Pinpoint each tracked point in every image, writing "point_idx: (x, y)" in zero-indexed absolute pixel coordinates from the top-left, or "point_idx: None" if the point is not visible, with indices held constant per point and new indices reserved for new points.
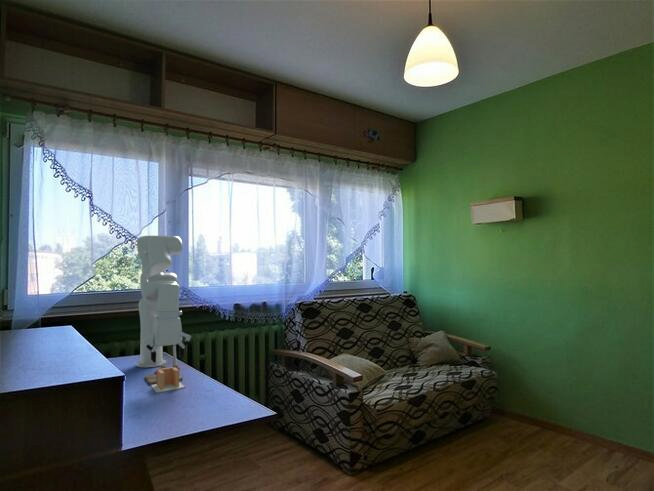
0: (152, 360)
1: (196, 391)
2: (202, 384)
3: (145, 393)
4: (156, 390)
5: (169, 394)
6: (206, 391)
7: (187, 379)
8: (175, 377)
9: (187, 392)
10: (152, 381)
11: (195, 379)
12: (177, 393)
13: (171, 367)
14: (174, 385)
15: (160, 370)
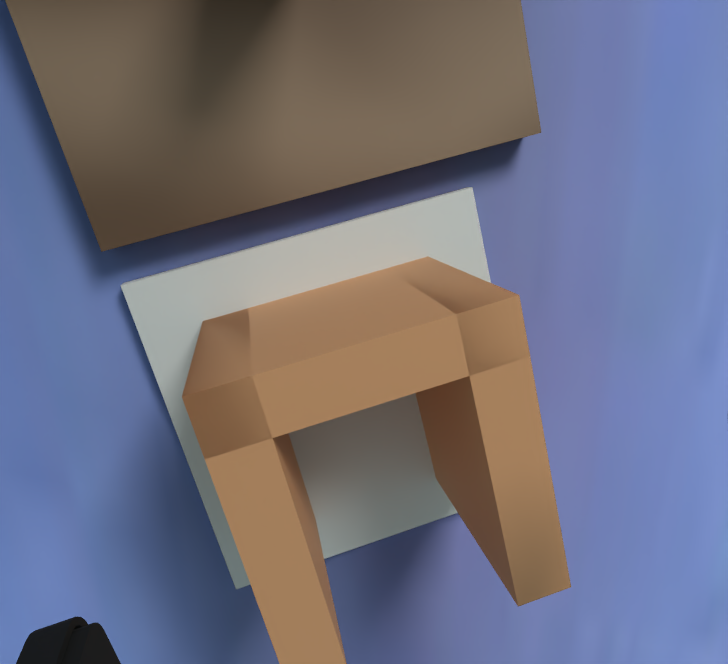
0: (37, 644)
1: (612, 617)
2: (701, 404)
3: (107, 575)
4: (228, 549)
5: (371, 656)
6: (688, 634)
7: (585, 115)
8: (476, 536)
9: (535, 629)
10: (118, 183)
11: (672, 158)
12: (446, 640)
13: (461, 333)
14: (427, 435)
15: (266, 509)
